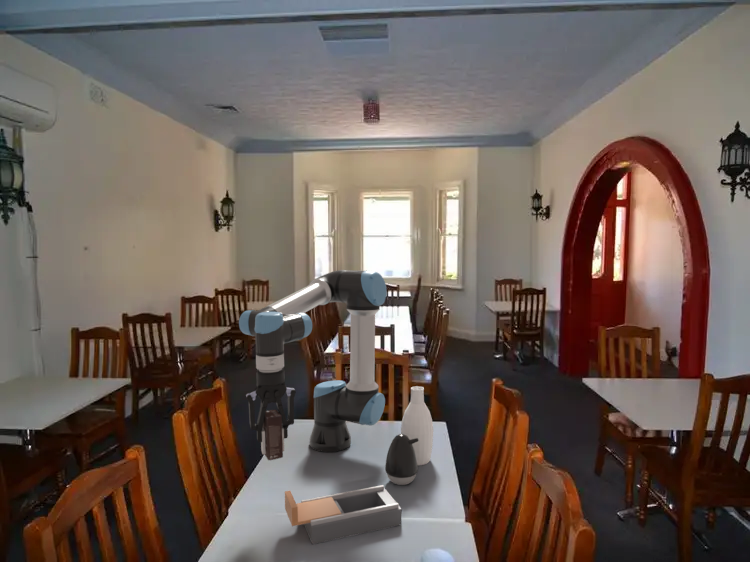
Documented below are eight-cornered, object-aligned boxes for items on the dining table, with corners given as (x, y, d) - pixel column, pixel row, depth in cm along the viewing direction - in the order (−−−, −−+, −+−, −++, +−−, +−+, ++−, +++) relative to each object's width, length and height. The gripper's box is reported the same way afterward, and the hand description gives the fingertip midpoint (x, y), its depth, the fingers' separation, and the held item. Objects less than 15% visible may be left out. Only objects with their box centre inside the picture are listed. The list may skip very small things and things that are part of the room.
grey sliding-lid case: (300, 518, 145) (300, 499, 144) (383, 501, 154) (383, 483, 153) (312, 544, 133) (312, 523, 132) (401, 524, 141) (401, 505, 141)
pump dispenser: (416, 490, 160) (416, 442, 158) (382, 487, 162) (382, 439, 160) (420, 475, 170) (420, 429, 168) (388, 472, 172) (388, 427, 170)
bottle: (424, 470, 173) (424, 395, 171) (394, 462, 179) (394, 389, 177) (438, 457, 183) (439, 386, 180) (410, 450, 189) (410, 381, 186)
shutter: (285, 508, 141) (284, 491, 140) (331, 499, 145) (331, 483, 145) (292, 526, 132) (291, 508, 132) (341, 516, 137) (341, 498, 137)
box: (284, 457, 145) (282, 415, 143) (268, 461, 143) (265, 418, 141) (278, 449, 150) (276, 408, 149) (262, 452, 148) (260, 411, 147)
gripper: (239, 376, 137) (242, 461, 139) (305, 369, 143) (306, 451, 146) (235, 368, 144) (238, 450, 146) (298, 362, 150) (300, 441, 153)
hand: (272, 450), depth 146 cm, fingers closed on box, 4 cm apart
